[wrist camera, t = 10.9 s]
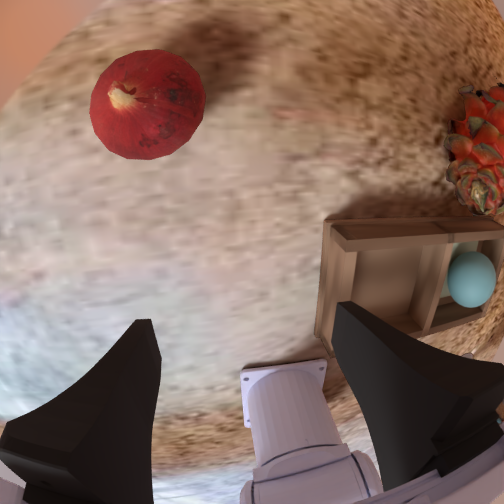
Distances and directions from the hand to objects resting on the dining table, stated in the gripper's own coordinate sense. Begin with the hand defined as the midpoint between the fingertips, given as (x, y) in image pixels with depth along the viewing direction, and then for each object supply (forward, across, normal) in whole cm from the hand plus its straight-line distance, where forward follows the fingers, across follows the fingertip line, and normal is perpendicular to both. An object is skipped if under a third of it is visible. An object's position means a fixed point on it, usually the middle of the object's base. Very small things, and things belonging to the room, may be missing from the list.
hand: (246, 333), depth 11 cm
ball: (+7, -21, +4) cm, 22 cm away
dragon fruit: (+10, -20, -8) cm, 23 cm away
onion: (+10, +4, -9) cm, 14 cm away
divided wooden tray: (+10, -16, +4) cm, 19 cm away
